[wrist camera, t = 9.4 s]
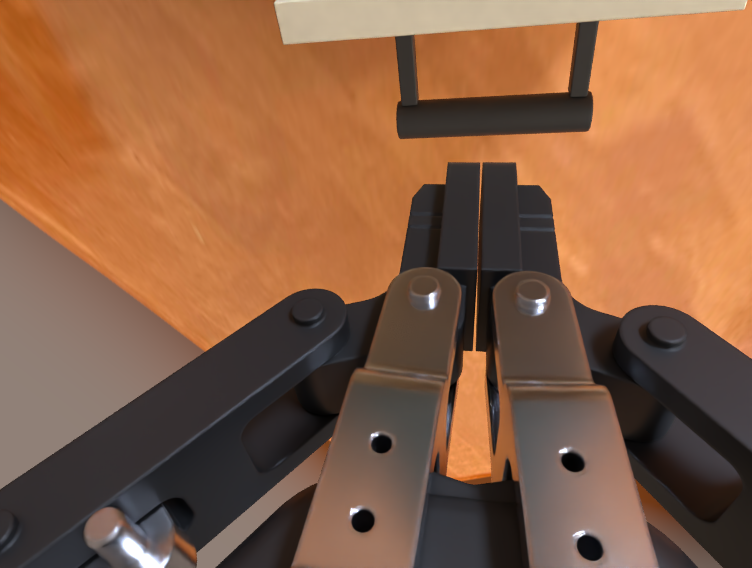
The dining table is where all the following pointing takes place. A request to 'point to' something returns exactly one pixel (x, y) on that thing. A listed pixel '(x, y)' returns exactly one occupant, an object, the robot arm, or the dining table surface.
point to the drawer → (467, 13)
